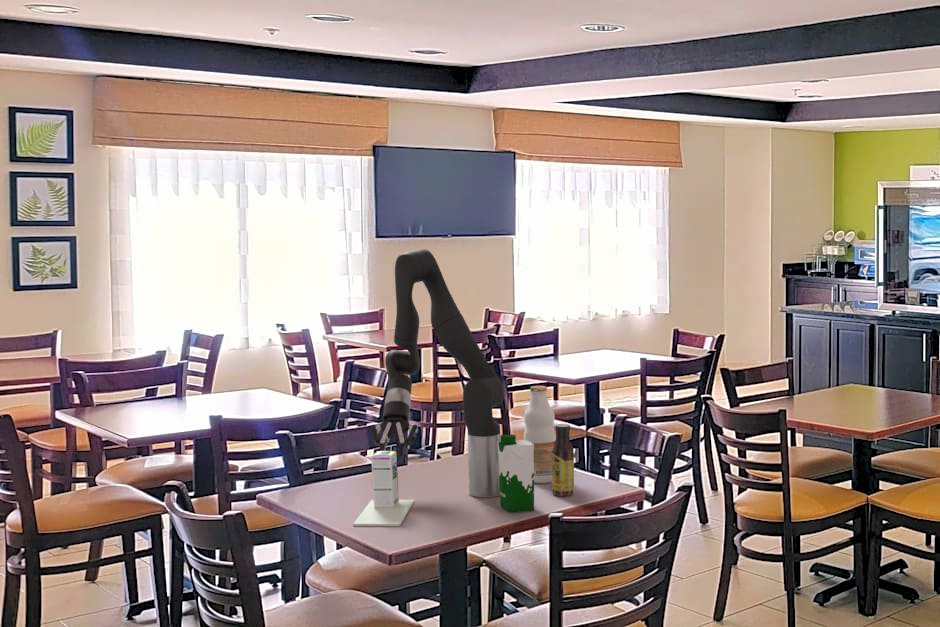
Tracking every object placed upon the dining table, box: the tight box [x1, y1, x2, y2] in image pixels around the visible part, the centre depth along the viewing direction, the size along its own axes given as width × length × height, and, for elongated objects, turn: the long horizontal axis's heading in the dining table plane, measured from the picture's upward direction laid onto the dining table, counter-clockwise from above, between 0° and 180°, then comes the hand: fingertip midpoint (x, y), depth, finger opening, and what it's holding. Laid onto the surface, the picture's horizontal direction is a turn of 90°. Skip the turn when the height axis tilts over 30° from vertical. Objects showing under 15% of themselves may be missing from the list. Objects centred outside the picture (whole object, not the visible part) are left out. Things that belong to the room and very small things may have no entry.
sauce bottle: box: [551, 423, 575, 497], centre depth 295 cm, size 7×6×20 cm
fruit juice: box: [523, 385, 556, 484], centre depth 313 cm, size 9×9×28 cm
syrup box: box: [370, 450, 400, 508], centre depth 287 cm, size 6×6×14 cm
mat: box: [352, 499, 415, 527], centre depth 281 cm, size 12×24×1 cm, turn 174°
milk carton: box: [497, 433, 535, 514], centre depth 282 cm, size 9×9×20 cm
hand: (391, 456), depth 297 cm, fingers open, 4 cm apart
